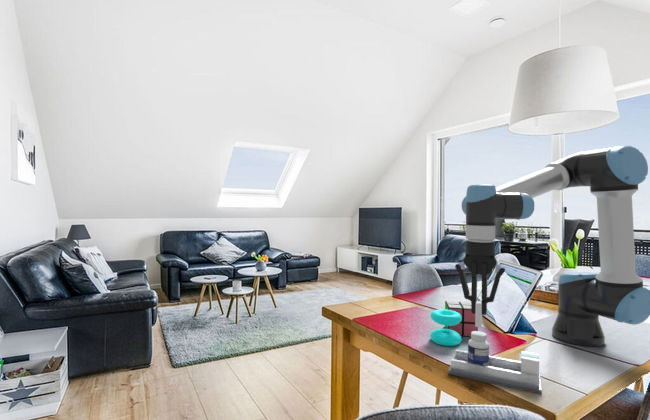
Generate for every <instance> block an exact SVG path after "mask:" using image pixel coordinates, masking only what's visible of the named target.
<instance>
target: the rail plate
mask: <svg viewBox="0 0 650 420" xmlns="http://www.w3.org/2000/svg"><path fill="white" fill-rule="evenodd" d="M447 373H448V375H451V376H455V377H459V378H460V377H461V378H466V379H469V380H473V381H474V380H475V381H479V382H483V383H488V384H492V385H495V386H496V385H497V386H502V387H506V388H510V387H511V389H516V390H520V391H524V392H528V393H529V392H530V393H534V394H538V395H542V394H543V393H542V392H543V391H542V389H543V388H542V382H541V372H540V371H539V376H537V375H532V374H527V373H522V372H521V360H515V359H509V358H504V357H499V356H493V355H489V366H486V365H481V364H476V363H471V362H468V350H467V351H466V350H461V349H455V352H454V356H453V358H451V360H450V366H449V368H448V371H447Z"/></svg>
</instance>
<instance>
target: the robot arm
mask: <svg viewBox="0 0 650 420" xmlns="http://www.w3.org/2000/svg"><path fill="white" fill-rule="evenodd" d="M648 173H649V167H648V162H647V159H646V157H645V155H644V154H643V153H642V152H641V150H639V149H638V148H636V147H634V146H631V145H620V146H610V147H606V148H605V147H604V148H599V149H593V150H585V151H580V152H576V153H574V154H571V155H568V156H565V157H564V158H563V157H562V158H561V159H558V160H556V161H554V162H551V163H549V164H547V165H545V167H544V168H543V169H541V170H537V171H535V172H533V173H530V174H527V175H524V176H522V177H519V178H516V179H515V180H512V181H509V182H506V183H504V184H502V185H501V184H500V185H499V186H496V185H494V184H471V185H469V186H468V187H467V189H466V195H465V197H464V198H463V199H462V201H461V210H462V212H463V213H464V215H465V240H466V241H465V255H464V258H463V259H462V261H461V262H459V263H457V264H455V266H454V267H455V269H456V271H457V273H458V275H459V280H460V284H461V288H462V292H463V297H464V299H466V300H468V301H469V302H471V312H472V313H474V314H475V327H478V328H482V327H483V316H486V315H487V312H488V304H489V303H494V301H495V297H496V293H497V290H498V286H499V283H500V281H501V280H500V279H501V277H502V276H503V275H504V274H505V272H506V267H504V266H501V265H500V264H498V261H497V259H496V243H495V242H494V241H495V240H496V220H518V221H520V220H527V219H529V218H530V217H532V215H533V214H534V211H535V200H534V198H536V197H539V196H541V195H543V194H546V193H550V192H551V191H554V190H555V191H562V190H564V189H568V188H576V187H589V189H590V191H589V192H590V193H591V195H593V196H595V197H596V206H597V207H596V208H597V209H596V210H597V224H598V225H597V227H598V244H599V245H598V247H599V261H600V262H599V263H600V265H599V266H600V272H599V273H596V272H563V273H561V274H560V275H559V277H558V278H559V279H558V284H557V285H558V286H557V287H558V298H557V300H558V308H557V309H558V310H557V315H556V318H555V321H554V323H553V325H552V328H551V329H552V330H551V331H552V332H551V334H552V335H551V336H553V338H556V339H558V340H559V341H562V342H565V343H568V344H572V345H576V346H577V345H578V346H584V347H601V346H605V341H606V340H605V339H606V338H605V334H604V331H603V329H602V325H601V323H600V319H599V318H600V317H604V318H607V319H611V320H613V321H616V322H617V323H624V324H628V325H634V326H635V325H639V324H642V323H643V322H645V321H646V320H648V318H649V317H650V289H648V288H646V287H644V281H643V278H642V277H641V276H639V275H638V274H637V272H636V269H637V267H636V251H635V234H634V233H635V231H634V212H633V211H634V210H633V209H634V208H633V195H634V194H635V193H637V191H638V190H639V184H641V183H643V182H644V181H645V180H646V178H647V176H648V175H649V174H648ZM466 268H467V269H468V270H469V272H470V273H471V290H469V286H468V281H467V277H466V272H465V269H466ZM493 269H494V272H495V273H496V275H495V277H494V280H493V282H492V287H491V291H490V294H489V296H488V275H489V274H490V273H491V272H492V271H493ZM478 275H480V276H481V300H478ZM470 291H471V292H470ZM470 293H471V294H470ZM599 316H600V317H599Z"/></svg>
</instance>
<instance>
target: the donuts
mask: <svg viewBox="0 0 650 420" xmlns="http://www.w3.org/2000/svg"><path fill="white" fill-rule="evenodd" d="M430 318H431V321H433V322H434V323H436V324H438V325H441V326H445V325H447V326H452V325H457V324H459V323H460V322H461V320H462V317H461V315H460V314H459V313H458V312H456V311H452V310H447V309H445V308H444V309H443V308H441V309H435V310H432V312H431V313H430ZM429 336H430V340H431V341H432V342H434V343H435V344H438V345H440V346H443V347H444V346H445V347H452V346H453V347H456V346H458V345H460V344H461V342H462V336H460V335H459V334H458V333H457V332H456V331H453V330H450V329H446V328H435V329H434V330H432V331H431V332H430V335H429Z"/></svg>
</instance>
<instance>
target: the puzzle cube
mask: <svg viewBox="0 0 650 420" xmlns="http://www.w3.org/2000/svg"><path fill="white" fill-rule="evenodd" d="M444 303H445V305H444V306H445V307H444V309H447V310H452V311H456V312H458V313H459V314H460V315H461V317H462V320H461V322H460V323H459V324H457V325H452V326H447V325H444V327H445V328H444V329H450V330H453V331H456V332H457V333H458V334H459V335H460V336H461V337H470V338H471V332H472V331H479V327H475V314H474V313H472V312H471V301H457V300H456V301H455V300H445V302H444Z"/></svg>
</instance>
